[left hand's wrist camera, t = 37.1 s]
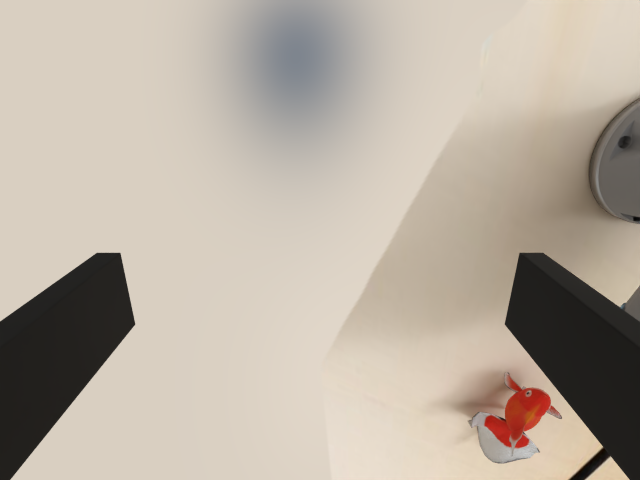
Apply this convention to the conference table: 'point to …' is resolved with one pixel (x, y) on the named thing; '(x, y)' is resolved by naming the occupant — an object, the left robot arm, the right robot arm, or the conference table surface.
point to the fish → (513, 424)
